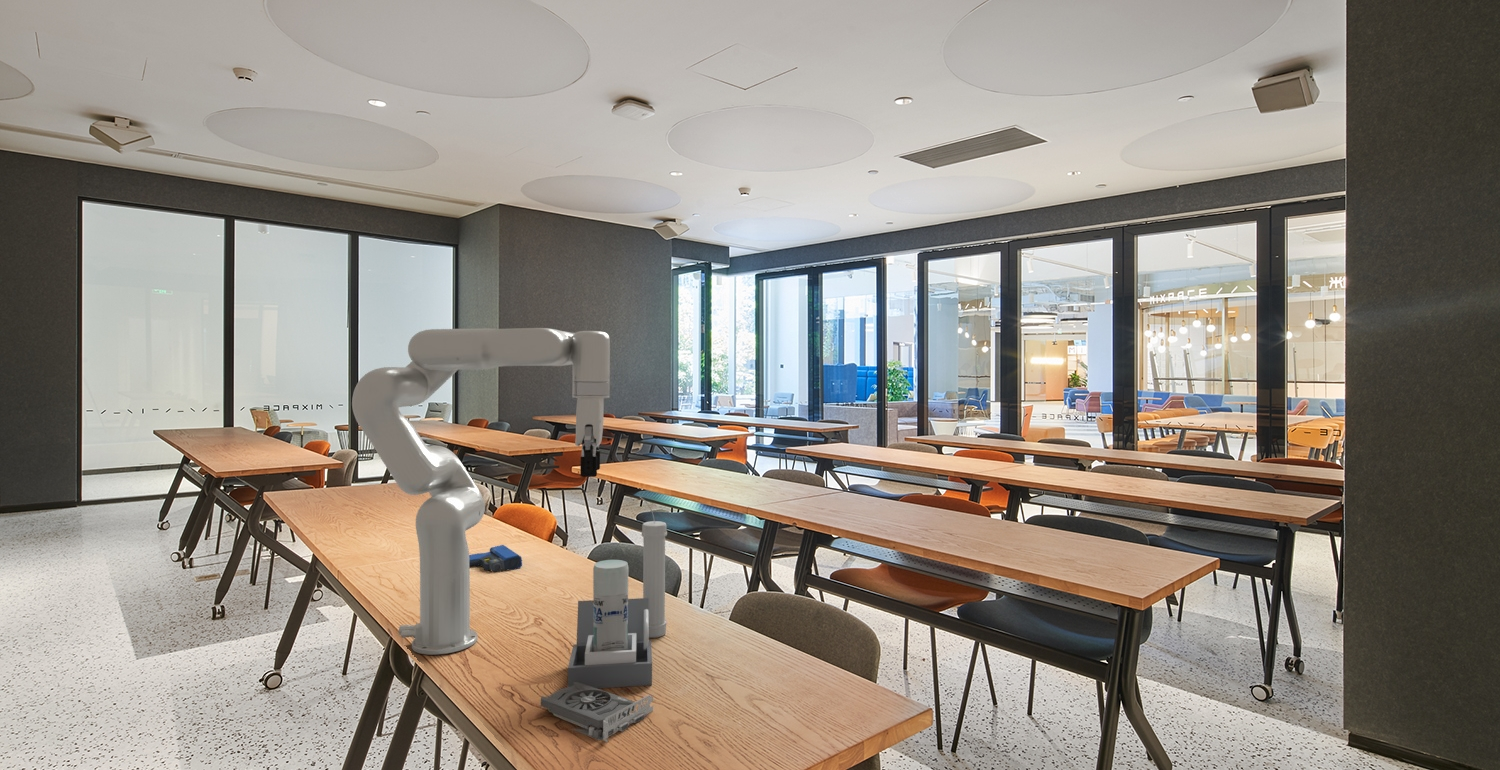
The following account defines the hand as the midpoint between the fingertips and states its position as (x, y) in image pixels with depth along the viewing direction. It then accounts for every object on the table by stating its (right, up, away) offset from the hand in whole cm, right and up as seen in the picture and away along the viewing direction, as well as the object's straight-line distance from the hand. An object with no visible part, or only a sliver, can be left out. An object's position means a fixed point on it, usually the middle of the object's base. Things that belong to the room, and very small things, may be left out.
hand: (590, 473), depth 146 cm
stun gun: (-43, -35, +60) cm, 82 cm away
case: (+7, -36, -11) cm, 39 cm away
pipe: (+12, -36, +8) cm, 39 cm away
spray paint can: (+7, -36, -13) cm, 39 cm away
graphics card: (+7, -38, -28) cm, 47 cm away
